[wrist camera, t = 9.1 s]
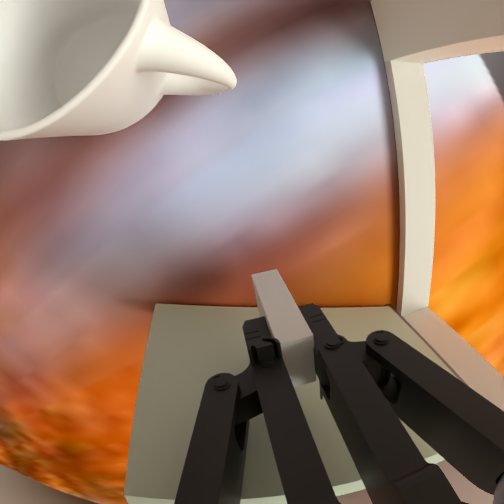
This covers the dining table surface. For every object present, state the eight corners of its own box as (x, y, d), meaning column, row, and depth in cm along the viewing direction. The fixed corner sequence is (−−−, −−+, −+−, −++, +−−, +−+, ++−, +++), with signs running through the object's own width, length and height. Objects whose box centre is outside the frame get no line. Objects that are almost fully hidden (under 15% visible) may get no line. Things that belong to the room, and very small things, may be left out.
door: (157, 332, 22) (136, 538, 8) (156, 299, 21) (122, 517, 7) (384, 331, 25) (488, 461, 11) (393, 303, 24) (513, 430, 10)
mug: (200, 167, 18) (199, 202, 9) (34, 120, 15) (-80, 125, 5) (251, 41, 16) (303, -43, 6) (81, 3, 13) (6, -71, 3)
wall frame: (370, 1, 16) (528, -73, 2) (402, 7, 16) (559, -45, 2) (391, 354, 27) (478, 471, 13) (416, 345, 27) (506, 450, 13)
